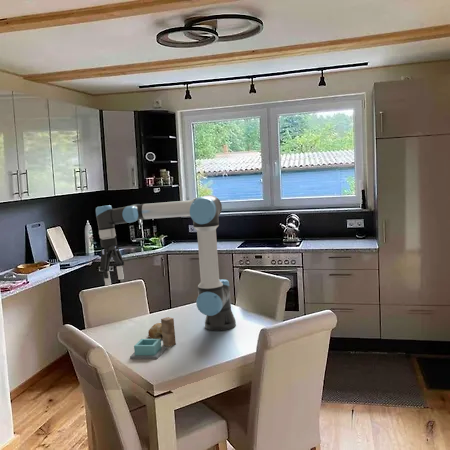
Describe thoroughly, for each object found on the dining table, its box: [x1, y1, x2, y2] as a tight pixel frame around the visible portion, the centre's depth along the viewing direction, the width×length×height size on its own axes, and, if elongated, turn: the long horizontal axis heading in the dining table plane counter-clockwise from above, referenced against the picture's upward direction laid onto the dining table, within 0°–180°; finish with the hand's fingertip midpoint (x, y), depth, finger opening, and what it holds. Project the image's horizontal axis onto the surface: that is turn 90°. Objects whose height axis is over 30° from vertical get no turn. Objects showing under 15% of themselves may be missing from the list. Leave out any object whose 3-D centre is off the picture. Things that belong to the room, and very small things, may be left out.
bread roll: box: [147, 322, 163, 340], centre depth 246 cm, size 10×10×8 cm
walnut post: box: [160, 316, 177, 348], centre depth 233 cm, size 4×4×12 cm
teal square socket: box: [129, 338, 167, 360], centre depth 223 cm, size 12×12×5 cm
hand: (115, 282), depth 248 cm, fingers open, 13 cm apart
